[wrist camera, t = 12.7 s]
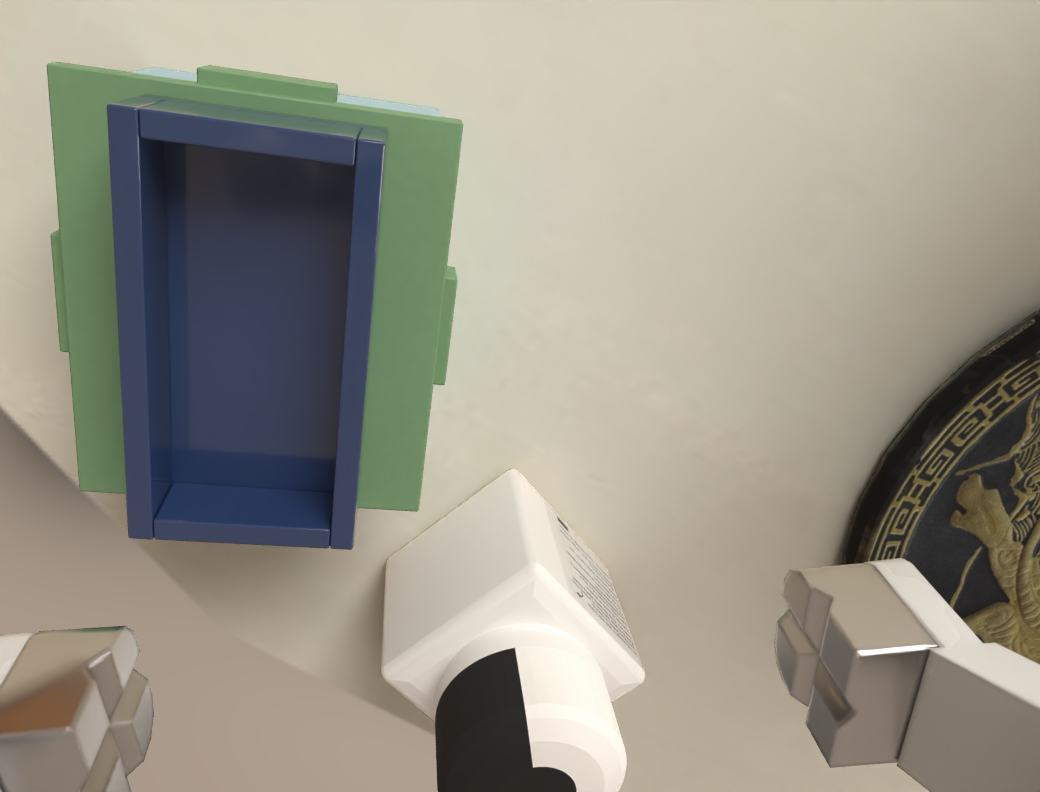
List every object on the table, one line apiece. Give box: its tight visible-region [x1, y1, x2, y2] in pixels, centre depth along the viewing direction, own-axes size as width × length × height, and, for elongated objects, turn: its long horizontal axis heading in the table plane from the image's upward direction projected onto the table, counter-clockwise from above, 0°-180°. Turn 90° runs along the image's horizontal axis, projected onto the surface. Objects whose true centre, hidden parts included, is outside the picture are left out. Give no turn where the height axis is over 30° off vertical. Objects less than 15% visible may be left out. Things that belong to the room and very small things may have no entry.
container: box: [381, 469, 645, 792], centre depth 33 cm, size 8×8×13 cm
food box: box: [47, 62, 463, 511], centre depth 28 cm, size 14×12×8 cm
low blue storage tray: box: [107, 94, 388, 550], centre depth 23 cm, size 12×6×3 cm, turn 172°
